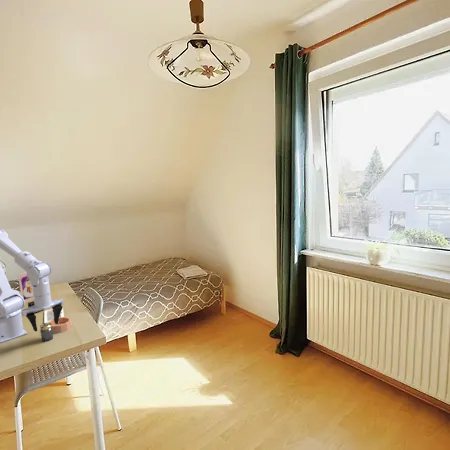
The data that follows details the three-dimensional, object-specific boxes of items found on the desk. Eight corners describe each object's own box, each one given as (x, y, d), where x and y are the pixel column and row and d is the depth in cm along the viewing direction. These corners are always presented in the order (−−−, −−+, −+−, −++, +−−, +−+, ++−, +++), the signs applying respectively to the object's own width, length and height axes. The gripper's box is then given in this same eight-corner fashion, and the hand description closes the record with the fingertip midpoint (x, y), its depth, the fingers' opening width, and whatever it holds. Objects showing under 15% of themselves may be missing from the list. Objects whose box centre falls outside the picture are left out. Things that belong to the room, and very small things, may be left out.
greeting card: (23, 303, 163) (19, 275, 160) (14, 301, 166) (10, 274, 163) (43, 295, 173) (40, 269, 171) (34, 294, 176) (31, 268, 174)
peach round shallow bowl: (53, 335, 129) (52, 328, 128) (45, 328, 135) (44, 322, 134) (74, 327, 135) (74, 320, 135) (66, 321, 141) (66, 315, 140)
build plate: (20, 311, 155) (19, 302, 154) (35, 305, 161) (34, 297, 160) (32, 317, 148) (30, 307, 147) (48, 311, 154) (47, 302, 153)
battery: (43, 342, 123) (41, 327, 122) (40, 339, 126) (38, 324, 125) (54, 338, 126) (52, 323, 125) (51, 335, 129) (49, 320, 128)
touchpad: (44, 325, 139) (44, 320, 138) (44, 313, 152) (44, 308, 151) (64, 321, 142) (63, 316, 142) (62, 309, 155) (62, 305, 155)
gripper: (23, 302, 115) (28, 337, 117) (65, 290, 125) (69, 323, 127) (18, 297, 120) (22, 331, 122) (58, 287, 130) (62, 318, 132)
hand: (46, 326), depth 125 cm, fingers open, 7 cm apart
